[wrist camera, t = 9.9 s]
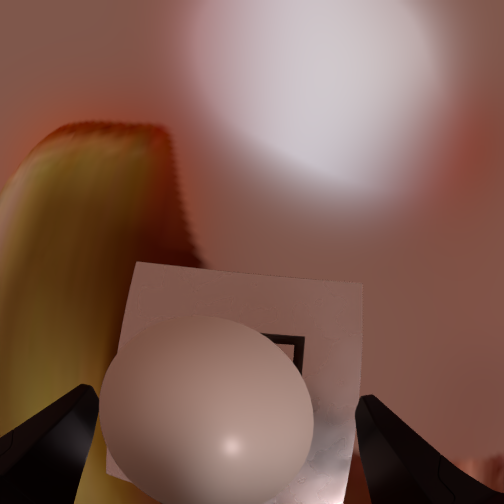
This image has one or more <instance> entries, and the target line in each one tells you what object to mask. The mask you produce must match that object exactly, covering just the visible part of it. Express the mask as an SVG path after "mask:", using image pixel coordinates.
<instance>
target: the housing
mask: <svg viewBox="0 0 504 504" xmlns="http://www.w3.org/2000/svg"><path fill="white" fill-rule="evenodd" d="M362 287H363V284H362V283H353V282H340V281H327V280H316V279H304V278H292V277H281V276H269V275H259V274H249V273H239V272H229V271H219V270H209V269H199V268H190V267H181V266H172V265H163V264H154V263H146V262H136V266H135V270H134V274H133V278H132V282H131V286H130V291H129V295H128V300H127V304H126V309H125V314H124V319H123V324H122V329H121V335H120V340H119V346H118V352H119V351H120V350H121V348H122V347H123V346H124V345H125V344H126V343H127V342H128V341H129V340H131V339H132V338H133V337H134V336H136V335H137V334H138V333H140V332H141V331H143V330H145V329H146V328H148V327H150V326H152V325H155V324H157V323H159V322H162V321H165V320H169V319H172V318H178V317H184V316H212V317H218V318H223V319H228V320H231V321H234V322H237V323H240V324H243V325H245V326H247V327H249V328H251V329H253V330H256V331H257V332H259V333H260V334H262V335H264V336H265V337H267V338H268V339H270V340H271V341H272V342H273V343H276V344H289V345H295V346H294V358H293V364H294V365H295V366H296V368H297V369H298V371H299V372H300V374H301V376H302V378H303V380H304V382H305V384H306V387H307V389H308V392H309V395H310V398H311V403H312V408H313V418H314V428H313V438H312V442H311V446H310V450H309V453H308V455H307V458H306V460H305V462H304V464H303V466H302V467H301V469H300V471H299V472H298V474H297V475H296V476H295V478H294V479H293V480H292V481H291V483H290V484H289V485H288V486H287V487H286V488H284V489H283V490H282V491H281V492H280V493H279V494H277V495H276V496H274V497H273V498H271V499H270V500H268V501H267V502H265V503H263V504H343V500H344V495H345V490H346V485H347V480H348V475H349V469H350V463H351V457H352V451H353V443H354V436H355V428H356V422H355V410H356V407H357V404H358V402H359V391H360V377H361V361H362V334H363V288H362ZM118 352H117V353H118ZM106 473H107V474H109V475H112V476H115V477H117V478H120V479H123V480H126V481H129V482H131V481H130V480H129V479H128V478H127V477H126V475H125V474H124V473H123V472H122V471H121V469H120V468H119V467H118V465H117V464H116V462H115V461H114V459H113V457H112V456H111V454H110V452H109V449H108V447H107V464H106Z"/></svg>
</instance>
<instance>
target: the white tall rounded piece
mask: <svg viewBox="0 0 504 504" xmlns="http://www.w3.org/2000/svg"><path fill="white" fill-rule="evenodd" d="M99 417H100V424H101V429H102V434H103V437H104V440H105V443H106V445H107V447H108V449H109V452H110V454H111V456H112V457H113V459H114V461H115V462H116V464H117V465H118V467H119V468H120V469H121V471H122V472H123V473H124V474H125V475H126V477H127V478H128V479H129V480H130V481H131V482H132V483H133V484H135V485H136V486H137V487H138V488H139V489H140V490H142V491H143V492H144V493H146V494H147V495H149V496H150V497H152V498H154V499H155V500H157V501H159V502H161V503H163V504H263V503H265V502H267V501H268V500H270V499H271V498H273V497H274V496H276V495H277V494H279V493H280V492H281V491H282V490H283V489H284V488H286V487H287V486H288V485H289V484H290V483H291V481H292V480H293V479H294V478H295V476H296V475H297V474H298V472H299V471H300V469H301V467H302V466H303V464H304V462H305V460H306V458H307V455H308V453H309V450H310V446H311V442H312V438H313V428H314V418H313V408H312V403H311V398H310V395H309V392H308V389H307V387H306V384H305V382H304V380H303V378H302V376H301V374H300V372H299V371H298V369H297V368H296V366H295V365H294V364H293V362H292V361H291V360H290V358H289V357H288V356H287V355H286V354H285V353H284V352H283V351H282V350H281V349H280V348H279V347H278V346H277V345H276V344H274V343H273V342H272V341H271V340H270V339H268V338H267V337H265V336H264V335H262V334H260V333H259V332H257V331H256V330H253V329H251V328H249V327H247V326H245V325H243V324H240V323H237V322H234V321H231V320H228V319H223V318H218V317H212V316H184V317H178V318H172V319H169V320H165V321H162V322H159V323H157V324H155V325H152V326H150V327H148V328H146V329H145V330H143V331H141V332H140V333H138V334H137V335H136V336H134V337H133V338H132V339H131V340H129V341H128V342H127V343H126V344H125V345H124V346H123V347H122V348H121V350H120V351H119V352H118V353H117V355H116V356H115V358H114V359H113V360H112V362H111V364H110V366H109V368H108V370H107V372H106V374H105V377H104V380H103V383H102V387H101V392H100V399H99Z"/></svg>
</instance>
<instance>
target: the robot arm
mask: <svg viewBox="0 0 504 504" xmlns="http://www.w3.org/2000/svg"><path fill="white" fill-rule="evenodd" d="M98 412H99V399H98V397H97V395H96V393H95V391H94V389H93V387H92V386H90V385H86V384H80V385H79V386H77V387H76V388H74V389H73V390H71V391H70V392H68V393H67V394H65V395H64V396H62V397H61V398H59V399H58V400H57V401H55V402H54V403H52V404H51V405H49V406H48V407H46V408H45V409H43V410H42V411H40V412H39V413H37V414H36V415H34V416H33V417H31V418H30V419H28V420H27V421H25V422H24V423H22V424H21V425H19V426H18V427H16V428H15V429H14V430H11V431H10V432H8V433H7V434H5V435H4V436H2V437H0V504H74V500H75V497H76V493H77V489H78V486H79V482H80V479H81V475H82V472H83V468H84V465H85V462H86V459H87V455H88V452H89V449H90V446H91V443H92V439H93V435H94V430H95V426H96V421H97V417H98ZM355 422H356V429H357V437H358V444H359V452H360V457H361V461H362V465H363V469H364V473H365V477H366V481H367V485H368V489H369V493H370V498H371V502H372V504H504V493H501V492H497V491H494V490H492V489H490V488H488V487H487V486H485V485H484V484H482V483H480V482H479V481H477V480H475V479H474V478H472V477H471V476H469V475H468V474H466V473H465V472H463V471H462V470H460V469H459V468H457V467H456V466H455V465H454V464H452V463H451V462H450V461H449V460H447V459H446V458H445V457H444V456H443V455H440V453H439V452H438V451H437V450H436V449H434V448H433V447H432V446H431V445H430V444H428V443H427V442H426V441H425V440H424V439H423V438H422V437H421V436H419V435H418V434H417V433H416V432H415V431H414V430H412V429H411V428H410V427H409V426H408V425H407V424H406V423H405V422H403V421H402V420H401V419H400V418H399V417H398V416H397V415H396V414H394V413H393V412H392V411H391V410H390V409H389V408H387V406H385V405H384V404H383V403H382V402H381V401H380V400H379V399H378V398H377V397H375V396H374V395H365V396H361V397H360V399H359V402H358V404H357V407H356V410H355Z"/></svg>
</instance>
